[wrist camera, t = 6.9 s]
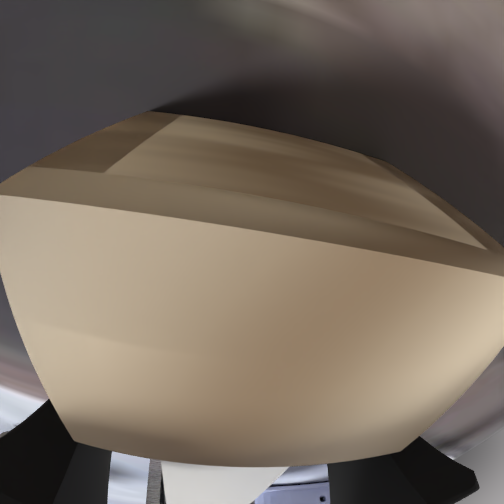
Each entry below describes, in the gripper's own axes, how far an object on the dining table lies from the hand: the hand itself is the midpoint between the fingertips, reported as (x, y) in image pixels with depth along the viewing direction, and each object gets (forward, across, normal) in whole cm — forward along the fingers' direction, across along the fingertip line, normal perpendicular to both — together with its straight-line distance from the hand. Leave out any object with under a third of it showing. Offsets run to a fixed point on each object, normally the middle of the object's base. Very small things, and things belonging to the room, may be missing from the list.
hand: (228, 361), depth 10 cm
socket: (+2, 0, -5) cm, 5 cm away
